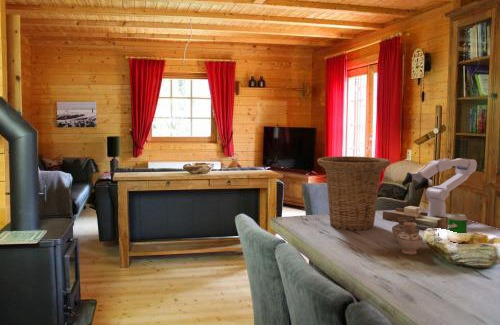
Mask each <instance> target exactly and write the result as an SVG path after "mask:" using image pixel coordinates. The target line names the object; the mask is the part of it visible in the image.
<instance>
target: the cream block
mask: <svg viewBox="0 0 500 325" xmlns="http://www.w3.org/2000/svg"><path fill="white" fill-rule="evenodd" d="M403 209H404V215H410V216H415V218H416V217H419V216H420V212H421V207H419V206H413V205H409V206H405V207H404V206H403Z"/></svg>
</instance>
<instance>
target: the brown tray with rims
mask: <svg viewBox="0 0 500 325" xmlns="http://www.w3.org/2000/svg"><path fill="white" fill-rule="evenodd" d="M428 215H429V212H425V211H420V216H419V217H416V218H415V216H410V215H404V208H400V207H395V210H393V211H385V210H383V211H382V220H388V221H392V220H393V222H398V218H403V217H406V218H412V219H413V222H417V224H420V225H426V226H431V227H434V226H437V228H443V229H446V228H448V216H447V217H445V218H436V217H430V216H428Z"/></svg>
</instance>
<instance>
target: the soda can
mask: <svg viewBox="0 0 500 325" xmlns="http://www.w3.org/2000/svg"><path fill="white" fill-rule="evenodd" d="M447 217H448V227H447V230H450V231H453V232H457V233H466V234H467V229H468V228H467V224H468V218H467V216H466V215H465V214H463V213H456V212H455V213H450V214H449V215H447Z"/></svg>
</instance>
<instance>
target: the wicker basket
mask: <svg viewBox="0 0 500 325" xmlns="http://www.w3.org/2000/svg"><path fill="white" fill-rule="evenodd" d="M316 162H317V164H318V165H319V166H320V167H323V169H324V171H325V175H326V186H327V200H328V203H327V204H328V212H329V214H328V215H329V222H330V226H332V227H333V228H334V227H335V228H336V229H341V230H346V229H347V230H349V231H354V230H356V231H361V230H364V231H367V230H368V229H369V230H371V229H372V228H374V226H375V218H376V211H377V202H378V194H379V187H380V180H381V174H382V171H383V170H384V169H385V168H387V167H388V166H390V165H391V160H389V159H387V158H381V157H372V156H371V157H370V156H346V155H345V156H344V155H343V156H324V157H320V158H319V157H318V159H317V161H316Z"/></svg>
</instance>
